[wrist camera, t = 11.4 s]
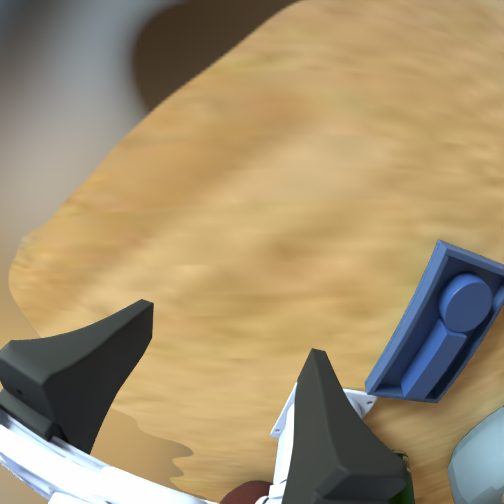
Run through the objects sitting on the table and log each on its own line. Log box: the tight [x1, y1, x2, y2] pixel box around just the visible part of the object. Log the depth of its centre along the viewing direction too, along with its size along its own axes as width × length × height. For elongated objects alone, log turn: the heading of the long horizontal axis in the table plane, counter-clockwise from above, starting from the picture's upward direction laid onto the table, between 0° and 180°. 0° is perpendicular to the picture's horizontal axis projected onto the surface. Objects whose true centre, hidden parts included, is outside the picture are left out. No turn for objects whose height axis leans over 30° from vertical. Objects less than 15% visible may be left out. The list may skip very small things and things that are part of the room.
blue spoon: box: [400, 271, 492, 399], centre depth 20 cm, size 11×4×2 cm, turn 167°
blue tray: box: [365, 240, 504, 403], centre depth 21 cm, size 14×8×2 cm, turn 167°
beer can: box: [389, 450, 415, 504], centre depth 24 cm, size 5×5×12 cm
